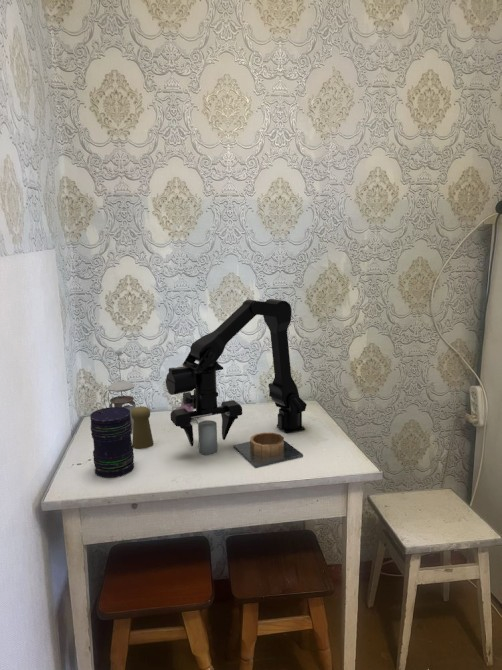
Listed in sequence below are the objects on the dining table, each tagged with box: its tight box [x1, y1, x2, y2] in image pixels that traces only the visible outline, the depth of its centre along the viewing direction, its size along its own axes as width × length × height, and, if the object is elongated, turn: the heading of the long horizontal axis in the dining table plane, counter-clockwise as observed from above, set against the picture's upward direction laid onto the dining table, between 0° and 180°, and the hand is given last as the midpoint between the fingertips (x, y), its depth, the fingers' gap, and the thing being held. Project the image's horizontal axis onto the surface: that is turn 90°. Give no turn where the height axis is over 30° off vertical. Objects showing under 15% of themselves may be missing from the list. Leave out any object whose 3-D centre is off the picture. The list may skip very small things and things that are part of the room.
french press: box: [103, 349, 136, 435], centre depth 153 cm, size 10×12×25 cm
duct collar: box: [232, 431, 304, 469], centre depth 136 cm, size 14×14×4 cm
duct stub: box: [197, 420, 218, 456], centre depth 137 cm, size 5×5×8 cm
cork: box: [131, 405, 155, 450], centre depth 142 cm, size 6×6×11 cm
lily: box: [174, 397, 199, 425], centre depth 160 cm, size 12×12×10 cm
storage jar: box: [89, 406, 135, 479], centre depth 127 cm, size 10×10×15 cm
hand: (208, 442), depth 137 cm, fingers open, 9 cm apart
